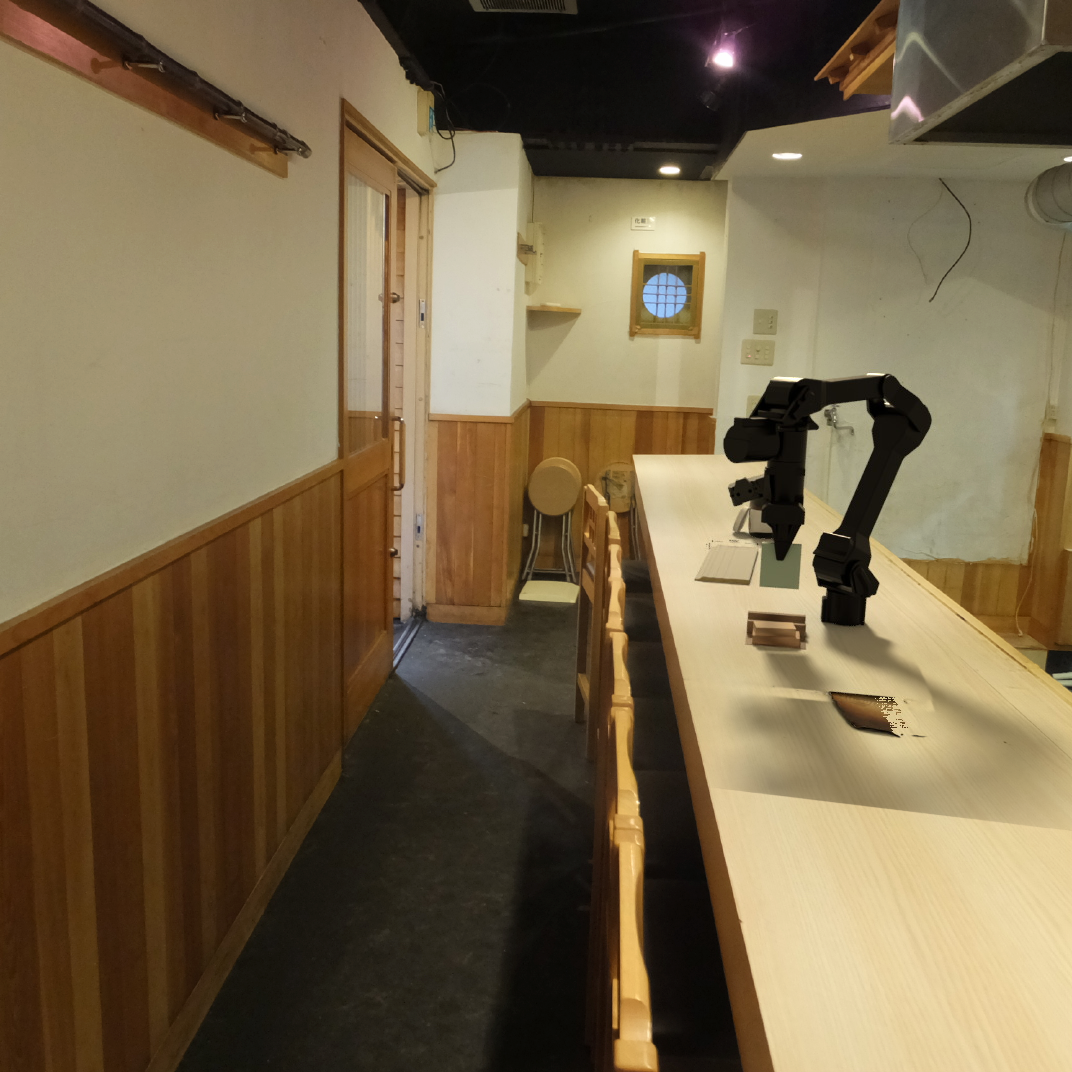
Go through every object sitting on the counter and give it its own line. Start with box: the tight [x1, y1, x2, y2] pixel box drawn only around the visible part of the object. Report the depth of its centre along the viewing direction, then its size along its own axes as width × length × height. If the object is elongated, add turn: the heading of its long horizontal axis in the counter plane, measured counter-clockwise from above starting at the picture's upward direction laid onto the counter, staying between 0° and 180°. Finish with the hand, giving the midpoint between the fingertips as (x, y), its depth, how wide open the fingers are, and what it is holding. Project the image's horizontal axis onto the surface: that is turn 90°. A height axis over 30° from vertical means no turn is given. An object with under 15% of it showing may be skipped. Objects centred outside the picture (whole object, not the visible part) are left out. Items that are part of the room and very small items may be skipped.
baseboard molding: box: [694, 539, 759, 585], centre depth 200 cm, size 31×3×12 cm
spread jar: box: [732, 497, 773, 540], centre depth 230 cm, size 12×11×12 cm
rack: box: [744, 610, 807, 650], centre depth 148 cm, size 9×10×4 cm
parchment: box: [829, 690, 908, 733], centre depth 126 cm, size 25×10×1 cm, turn 171°
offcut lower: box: [752, 630, 800, 647], centre depth 146 cm, size 7×4×1 cm, turn 76°
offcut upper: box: [753, 621, 796, 637], centre depth 146 cm, size 6×3×1 cm, turn 84°
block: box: [758, 541, 803, 590], centre depth 148 cm, size 6×1×7 cm, turn 75°
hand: (779, 559), depth 148 cm, fingers closed on block, 1 cm apart
